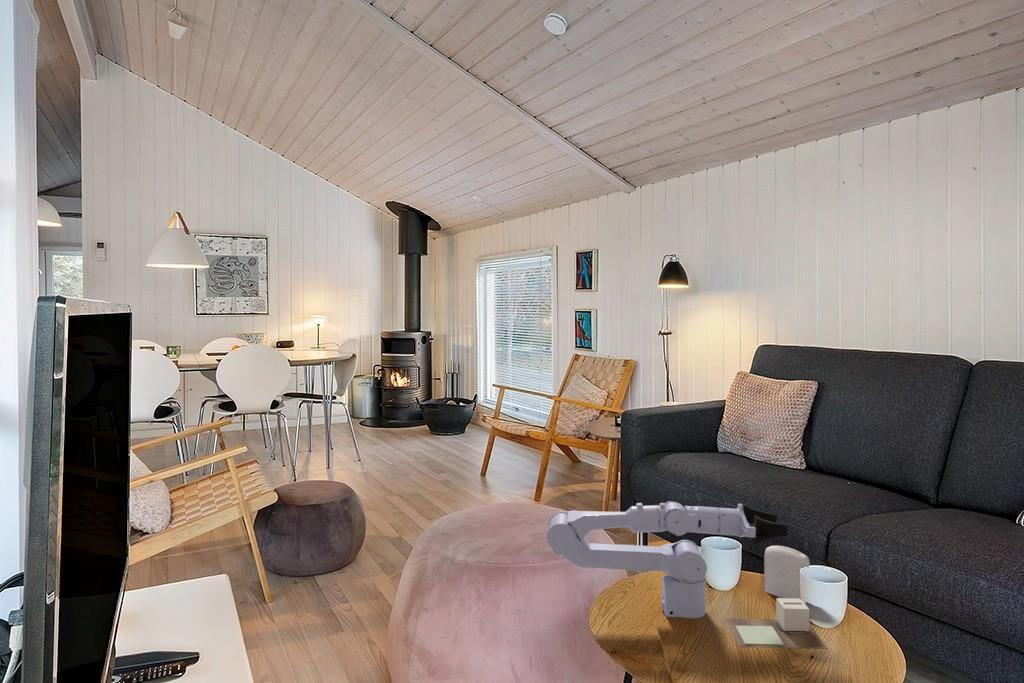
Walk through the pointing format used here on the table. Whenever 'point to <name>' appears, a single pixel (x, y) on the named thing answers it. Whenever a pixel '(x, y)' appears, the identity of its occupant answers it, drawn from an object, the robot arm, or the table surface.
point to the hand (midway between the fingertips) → (781, 525)
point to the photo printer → (783, 571)
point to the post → (791, 631)
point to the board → (788, 639)
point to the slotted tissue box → (792, 614)
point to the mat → (759, 635)
